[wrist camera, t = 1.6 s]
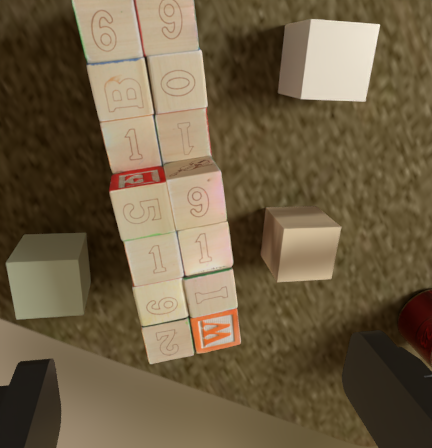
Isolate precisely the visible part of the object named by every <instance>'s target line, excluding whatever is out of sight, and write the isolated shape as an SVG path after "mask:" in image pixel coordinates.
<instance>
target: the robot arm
mask: <svg viewBox="0 0 432 448" xmlns="http://www.w3.org/2000/svg"><path fill="white" fill-rule="evenodd" d="M342 382H343V387H344V391H345V393H346V395H347V397H348V399H349V401H350V402H351V404H352V405H353V407H354V409H355V410H356V412H357V414H358V415H359V417H360V418H361V420H362V422H363V423H364V425H365V426H366V428H367V430H368V431H369V433H370V434H371V436H372V438H373V439H374V441H375V443H376V444H377V446H378V447H379V448H432V371H431V370H430V369H429V368H428V367H427V366H426V365H425V364H424V363H423V362H422V361H421V360H420V359H419V358H417V357H416V356H414V355H413V354H411V353H410V352H408V351H407V350H405V349H404V348H402V347H397V346H396V345H395V344H394V343H393V341H392V340H391V339H390V338H389V337H388V336H387V335H386V334H385V333H384V332H383V331H380V330H375V331H364V332H355V333H353V334H352V336H351V338H350V342H349V346H348V351H347V355H346V359H345V364H344V368H343V373H342ZM60 424H61V401H60V395H59V388H58V381H57V374H56V368H55V362H54V360H53V359H42V360H31V361H21V362H19V363H18V365H17V367H16V369H15V372H14V374H13V377H12V379H11V382H10V384H9V385H8V386H0V448H56V445H57V440H58V436H59V431H60Z"/></svg>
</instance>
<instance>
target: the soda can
mask: <svg viewBox="0 0 432 448" xmlns="http://www.w3.org/2000/svg"><path fill="white" fill-rule="evenodd" d="M398 330H399V332H400V334H401V336H402V337H403V338H404V339H405V340H406V341H407V342H408V343H409V344H410V345H411V346H412V347H413V348H414V350H415V351H416V352H417V353H418V354H419V355H420V356H421V357H422V358H423V359H424V360H425V361H426V362H427V363H428V364H429V365H430V366H431V367H432V289H431V290H426V291H423V292H420V293H418V294H416V295H415V296H413V297H412V298H411V299H409V300H408V301H407V303H406V304H405V305H404V306H403V308H402V309H401V311H400V314H399V317H398Z"/></svg>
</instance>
